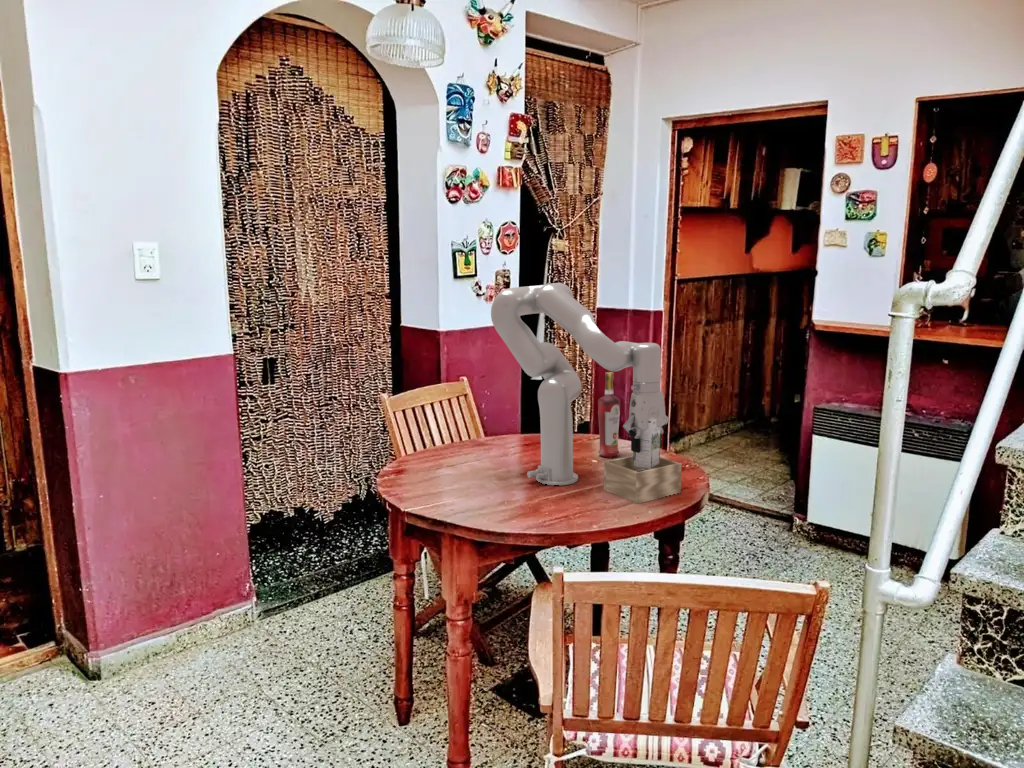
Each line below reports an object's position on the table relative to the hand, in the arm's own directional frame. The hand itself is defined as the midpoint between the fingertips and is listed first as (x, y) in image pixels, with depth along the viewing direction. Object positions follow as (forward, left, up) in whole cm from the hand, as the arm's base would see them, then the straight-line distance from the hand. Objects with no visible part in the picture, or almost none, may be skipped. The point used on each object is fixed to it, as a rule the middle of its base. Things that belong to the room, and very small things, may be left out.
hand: (646, 448), depth 210 cm
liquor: (+15, +34, -12) cm, 39 cm away
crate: (-2, -1, -12) cm, 12 cm away
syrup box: (0, 0, -5) cm, 5 cm away
